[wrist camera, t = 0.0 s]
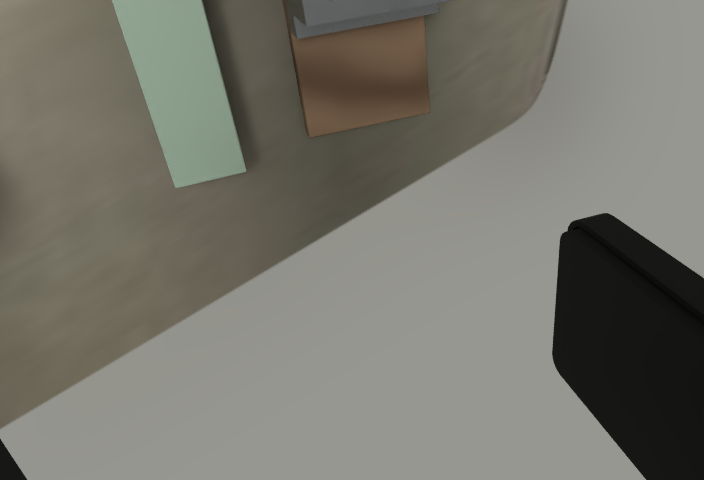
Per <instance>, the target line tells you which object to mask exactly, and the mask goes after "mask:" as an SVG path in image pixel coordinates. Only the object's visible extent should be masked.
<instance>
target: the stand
mask: <svg viewBox="0 0 704 480" xmlns="http://www.w3.org/2000/svg"><path fill="white" fill-rule="evenodd" d="M445 1H451V0H283V5H284V11H285V16H286V22H287V27H288V33H289V38H290V44H291V50H292V55H293V61H294V66H295V72H296V78H297V83H298V89H299V94H300V100H301V105H302V111H303V117H304V122H305V128H306V132H307V134H308V136H309V138H311V137H316V136H320V135H325V134H330V133H335V132H339V131H344V130H349V129H354V128H358V127H363V126H368V125H372V124H377V123H382V122H387V121H391V120H396V119H401V118H406V117H410V116H415V115H420V114H424V113H429V112H430V106H429V89H428V73H427V57H426V40H425V24H424V15H429V14H435V13H439V11H438V3H440V2H445Z"/></svg>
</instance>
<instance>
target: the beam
mask: <svg viewBox="0 0 704 480" xmlns="http://www.w3.org/2000/svg"><path fill="white" fill-rule="evenodd" d="M112 2H113V5H114V8H115V11H116V14H117V17H118V20H119V23H120V26H121V29H122V32H123V35H124V38H125V41H126V44H127V47H128V50H129V52H130V55H131V58H132V61H133V64H134V67H135V70H136V73H137V76H138V79H139V82H140V85H141V88H142V91H143V94H144V97H145V100H146V103H147V106H148V109H149V112H150V114H151V117H152V120H153V123H154V126H155V129H156V132H157V135H158V138H159V141H160V144H161V147H162V150H163V153H164V156H165V159H166V162H167V165H168V168H169V171H170V174H171V176H172V179H173V182H174V185H175V188H178V187H183V186H187V185H191V184H196V183H200V182H204V181H209V180H213V179H217V178H222V177H226V176H230V175H235V174H239V173H243V172H246V167H245V163H244V158H243V154H242V149H241V145H240V141H239V137H238V133H237V130H236V126H235V122H234V118H233V114H232V111H231V107H230V103H229V99H228V95H227V91H226V88H225V84H224V80H223V76H222V72H221V69H220V65H219V61H218V57H217V53H216V49H215V46H214V42H213V38H212V34H211V30H210V26H209V23H208V19H207V15H206V11H205V7H204V4H203V0H112Z"/></svg>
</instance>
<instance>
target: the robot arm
mask: <svg viewBox="0 0 704 480" xmlns="http://www.w3.org/2000/svg"><path fill="white" fill-rule="evenodd" d="M556 292H557V293H556V307H555V322H554V336H553V351H552V355H553V361H554V364H555V367H556V369H557V371H558V372H559V374H560V375H561V376H562V378H563V379H564V380H565V381H566V382H567V384H568V385H569V386H570V387H571V389H572V390H573V391H574V392H575V393H576V395H577V396H578V397H579V398H580V400H581V401H582V402H583V403H584V404H585V405H586V406H587V408H588V409H589V410H590V412H591V413H592V414H593V415H594V417H595V418H596V419H597V420H598V421H599V423H600V424H601V425H602V426H603V428H604V429H605V430H606V431H607V432H608V434H609V435H610V436H611V437H612V438H613V440H614V441H615V442H616V443H617V445H618V446H619V447H620V448H621V449H622V451H623V452H624V453H625V454H626V456H627V457H628V458H629V459H630V460H631V462H632V463H633V464H634V465H635V467H636V468H637V469H638V470H639V471H640V473H641V474H642V475H643V476H644V477H645V479H646V480H704V278H703V277H701V276H700V275H698V274H697V273H695V272H694V271H692V270H691V269H689V268H688V267H687V266H685V265H683V264H682V263H681V262H679V261H678V260H676V259H675V258H674V257H672V256H671V255H669V254H668V253H666V252H665V251H663V250H662V249H661V248H659V247H658V246H656V245H655V244H653V243H652V242H650V241H649V240H647V239H646V238H645V237H643V236H642V235H640V234H639V233H637V232H636V231H634V230H633V229H631V228H630V227H628V226H627V225H626V224H624V223H623V222H621V221H620V220H618V219H617V218H615V217H614V216H612V215H610V214H608V213H603V214H599V215H595V216H591V217H587V218H583V219H579V220H575V221H573V222H571V224H570V225H569V227H568V231H567V232H564V233H563V234H562V236H561V238H560V249H559V263H558V277H557V291H556ZM0 480H27V479H26V477H25V476H24V474H23V473H22V471H21V470H20V468H19V467H18V465H17V464H16V462H15V461H14V459H13V458H12V456H11V455H10V453H9V452H8V450H7V448H6V447H5V445H4V444H3V442H2V441H1V439H0Z"/></svg>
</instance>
